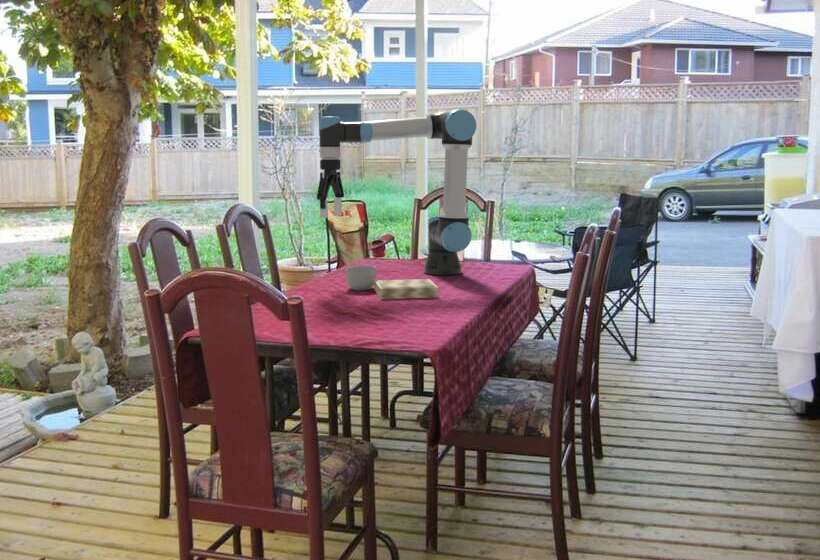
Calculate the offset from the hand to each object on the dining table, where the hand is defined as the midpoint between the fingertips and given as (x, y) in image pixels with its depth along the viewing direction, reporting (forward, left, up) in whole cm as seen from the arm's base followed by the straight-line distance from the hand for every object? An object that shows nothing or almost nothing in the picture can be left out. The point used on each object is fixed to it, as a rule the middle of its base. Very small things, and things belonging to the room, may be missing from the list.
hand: (331, 216), depth 329 cm
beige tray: (-24, +28, -25) cm, 45 cm away
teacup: (-10, +14, -25) cm, 31 cm away
